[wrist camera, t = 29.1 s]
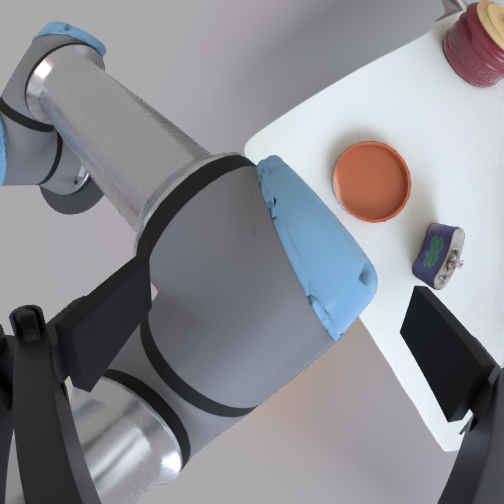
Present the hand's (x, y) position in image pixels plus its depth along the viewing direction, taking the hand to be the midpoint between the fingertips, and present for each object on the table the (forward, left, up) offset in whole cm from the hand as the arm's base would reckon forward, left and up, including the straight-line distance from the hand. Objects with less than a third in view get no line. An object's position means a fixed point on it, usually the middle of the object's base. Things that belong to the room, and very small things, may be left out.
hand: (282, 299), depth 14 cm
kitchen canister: (+28, +40, -32) cm, 58 cm away
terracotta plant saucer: (+10, +10, -32) cm, 35 cm away
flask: (+22, +2, -32) cm, 39 cm away
